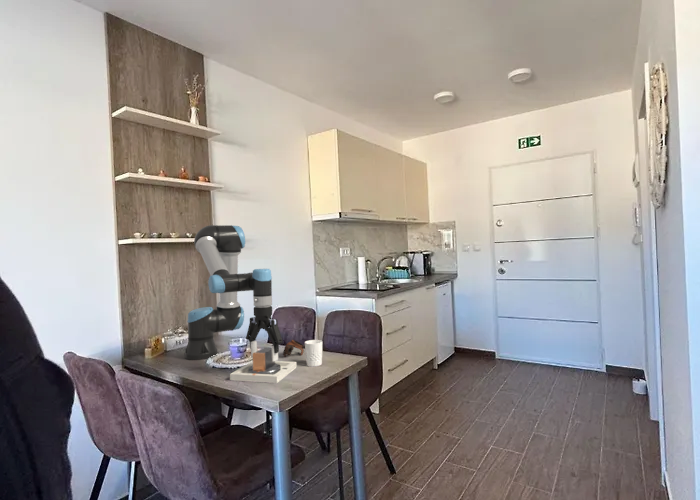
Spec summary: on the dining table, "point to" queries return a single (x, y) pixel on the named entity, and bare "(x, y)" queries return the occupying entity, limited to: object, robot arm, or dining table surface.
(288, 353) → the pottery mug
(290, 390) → the dining table surface
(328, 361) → the dining table surface
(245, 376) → the dial panel
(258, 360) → the dial
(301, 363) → the dining table surface
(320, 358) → the white cup
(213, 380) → the dining table surface
